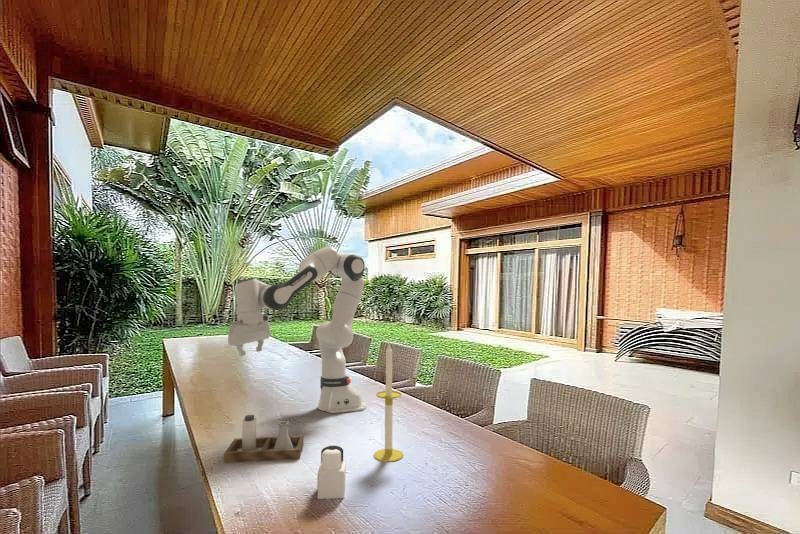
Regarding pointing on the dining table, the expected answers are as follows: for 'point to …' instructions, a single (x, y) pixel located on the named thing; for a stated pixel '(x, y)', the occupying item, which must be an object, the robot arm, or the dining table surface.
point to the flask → (283, 437)
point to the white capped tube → (249, 433)
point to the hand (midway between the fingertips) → (251, 353)
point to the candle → (388, 415)
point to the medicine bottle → (331, 473)
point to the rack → (263, 450)
